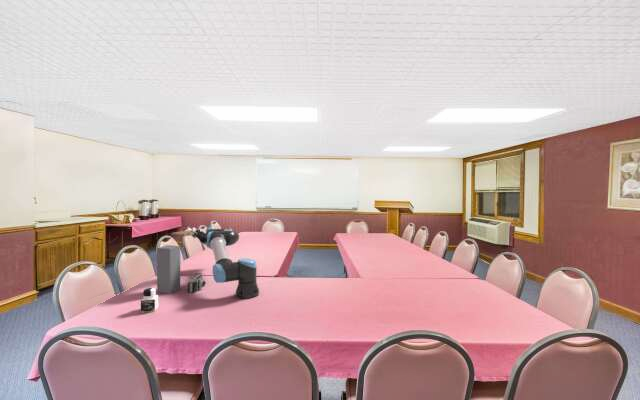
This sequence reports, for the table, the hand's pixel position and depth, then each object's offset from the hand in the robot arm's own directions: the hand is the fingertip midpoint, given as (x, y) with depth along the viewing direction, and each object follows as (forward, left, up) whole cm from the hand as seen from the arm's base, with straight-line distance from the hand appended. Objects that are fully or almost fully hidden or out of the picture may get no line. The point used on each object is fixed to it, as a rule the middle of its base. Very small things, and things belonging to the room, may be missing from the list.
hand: (190, 228), depth 217 cm
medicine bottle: (-52, +17, -40) cm, 68 cm away
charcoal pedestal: (-20, +12, -40) cm, 46 cm away
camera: (-24, -7, -40) cm, 47 cm away
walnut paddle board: (-3, +2, -4) cm, 5 cm away
